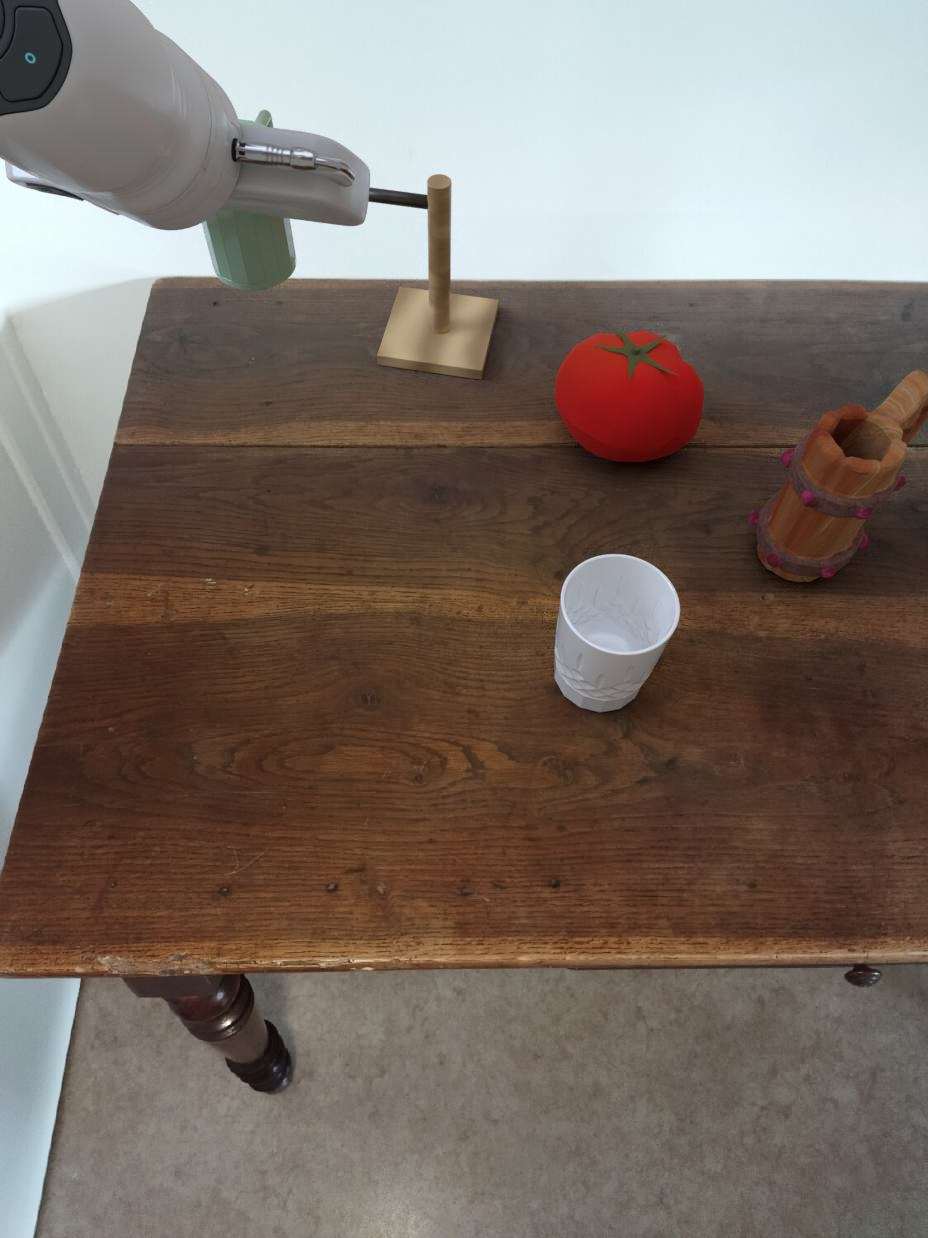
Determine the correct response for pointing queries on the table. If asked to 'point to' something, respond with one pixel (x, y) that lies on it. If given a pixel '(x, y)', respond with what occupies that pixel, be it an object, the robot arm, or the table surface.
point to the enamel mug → (250, 243)
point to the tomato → (629, 396)
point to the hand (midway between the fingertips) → (244, 197)
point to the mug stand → (436, 301)
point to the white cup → (612, 629)
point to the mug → (838, 484)
